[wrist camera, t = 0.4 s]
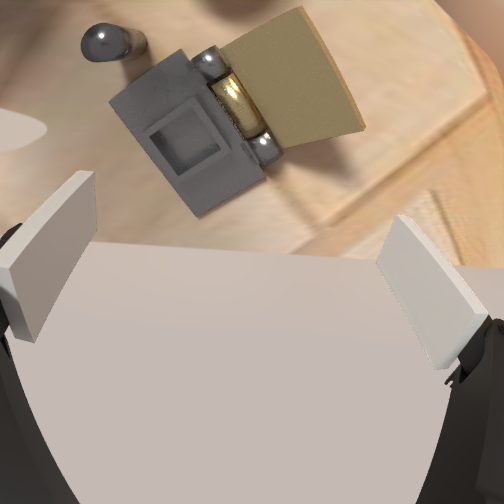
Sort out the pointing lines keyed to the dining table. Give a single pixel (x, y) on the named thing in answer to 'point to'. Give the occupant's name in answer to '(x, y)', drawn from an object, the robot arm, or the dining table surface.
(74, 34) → the dining table surface
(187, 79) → the hinge base
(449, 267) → the robot arm
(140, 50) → the pin
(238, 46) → the brass leaf
